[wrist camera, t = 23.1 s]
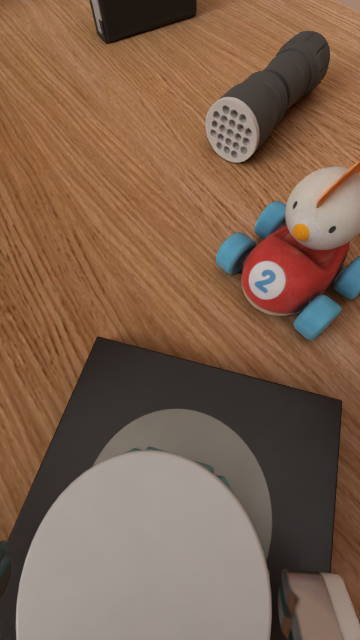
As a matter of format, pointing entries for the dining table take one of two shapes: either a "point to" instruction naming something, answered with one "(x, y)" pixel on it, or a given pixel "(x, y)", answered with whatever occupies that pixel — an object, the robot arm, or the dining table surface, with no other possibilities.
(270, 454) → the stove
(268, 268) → the toy car
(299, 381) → the dining table surface
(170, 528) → the teal ribbed pillar
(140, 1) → the camera
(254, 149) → the flashlight
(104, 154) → the dining table surface
